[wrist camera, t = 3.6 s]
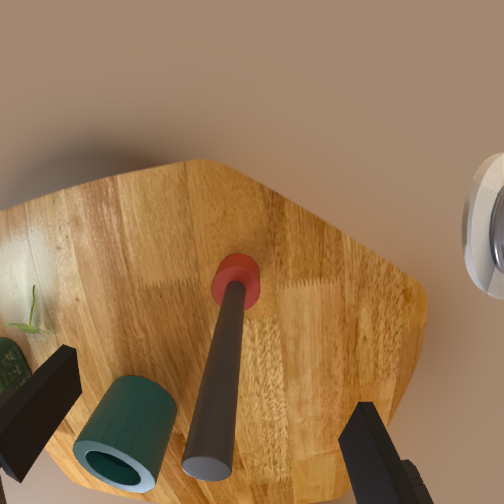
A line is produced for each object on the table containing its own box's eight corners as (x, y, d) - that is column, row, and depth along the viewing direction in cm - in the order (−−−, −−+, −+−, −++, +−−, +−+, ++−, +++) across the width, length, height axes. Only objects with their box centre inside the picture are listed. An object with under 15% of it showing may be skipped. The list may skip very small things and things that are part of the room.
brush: (263, 257, 31) (283, 443, 8) (254, 296, 32) (255, 502, 9) (221, 249, 31) (143, 418, 8) (214, 288, 32) (148, 483, 9)
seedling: (58, 294, 38) (52, 336, 36) (12, 280, 32) (5, 324, 30) (66, 292, 33) (59, 341, 31) (12, 276, 28) (4, 327, 25)
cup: (178, 386, 35) (153, 460, 22) (175, 433, 37) (156, 500, 25) (108, 366, 35) (64, 427, 22) (112, 415, 37) (81, 474, 24)
